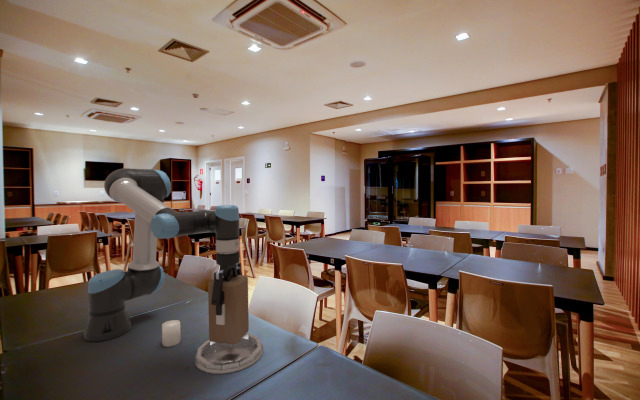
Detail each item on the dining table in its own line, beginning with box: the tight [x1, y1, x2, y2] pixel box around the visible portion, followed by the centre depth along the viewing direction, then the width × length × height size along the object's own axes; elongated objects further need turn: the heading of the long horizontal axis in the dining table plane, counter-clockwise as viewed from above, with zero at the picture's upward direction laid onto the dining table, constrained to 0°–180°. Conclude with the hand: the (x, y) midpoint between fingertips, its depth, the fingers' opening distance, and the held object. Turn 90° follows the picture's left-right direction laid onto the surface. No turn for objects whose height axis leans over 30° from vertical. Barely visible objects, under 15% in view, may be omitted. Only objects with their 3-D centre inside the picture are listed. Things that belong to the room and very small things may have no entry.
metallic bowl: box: [194, 332, 264, 375], centre depth 102 cm, size 22×22×2 cm
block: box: [207, 274, 250, 344], centre depth 102 cm, size 10×10×20 cm
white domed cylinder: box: [161, 319, 182, 348], centre depth 110 cm, size 6×6×7 cm
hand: (229, 317), depth 102 cm, fingers closed on block, 10 cm apart
